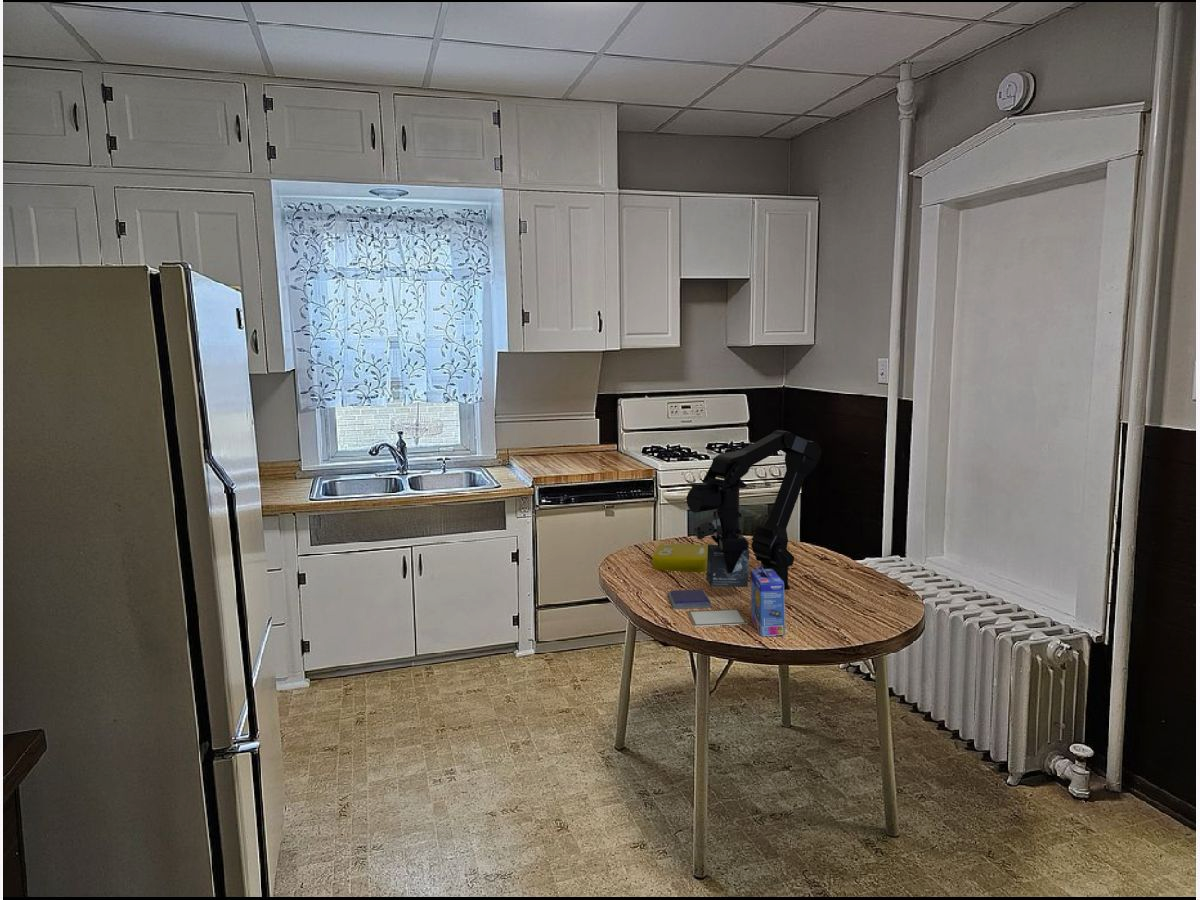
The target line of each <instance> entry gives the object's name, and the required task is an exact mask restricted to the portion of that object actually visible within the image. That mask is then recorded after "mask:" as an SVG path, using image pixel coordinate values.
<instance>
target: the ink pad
mask: <svg viewBox="0 0 1200 900" xmlns="http://www.w3.org/2000/svg"><path fill="white" fill-rule="evenodd" d="M667 593H668V594H667V597H668V599H669V601H670V604H671V606H672V609H673V610H690V609H691V610H694V609H711V608H712V602H711V600H710V598H709V597H708V595H707V592H705V590H703V589H702V588H701V589H698V588H697V589H679V590H670V591H668V592H667Z"/></svg>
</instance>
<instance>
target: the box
mask: <svg viewBox="0 0 1200 900" xmlns="http://www.w3.org/2000/svg"><path fill="white" fill-rule="evenodd" d="M707 545H708V557H707V570H706V577H705V580H706V582H707V583H708V585H709V587H711V588H713V587H714V588H716V587H717V588H748V585H749V571H750V570H749V568H750V565H749V564H750V550H744V551H743V552H742V554H741V556H740V558H739V560H738V562H737V564H736V566H735V568H734V570H733V572H732V573H728V571H727V566H726V560H725V554H724V552H723V551H721V550H720V548H719V547H718V546H720V545H718V544H707Z"/></svg>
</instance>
